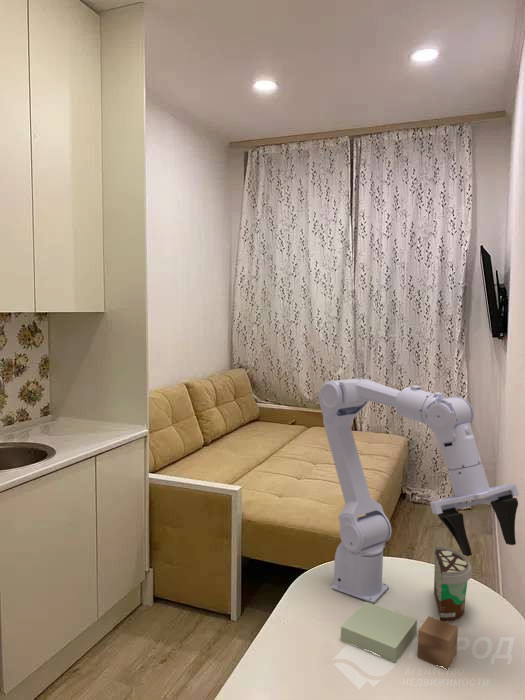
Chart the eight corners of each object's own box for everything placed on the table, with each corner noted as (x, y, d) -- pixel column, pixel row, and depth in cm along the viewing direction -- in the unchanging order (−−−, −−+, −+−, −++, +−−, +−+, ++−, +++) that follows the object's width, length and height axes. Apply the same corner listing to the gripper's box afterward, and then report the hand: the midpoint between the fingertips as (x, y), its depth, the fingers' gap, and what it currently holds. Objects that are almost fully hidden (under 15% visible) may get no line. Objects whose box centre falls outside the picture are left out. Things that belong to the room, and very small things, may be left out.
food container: (475, 629, 97) (478, 577, 96) (440, 625, 98) (442, 573, 97) (464, 594, 109) (466, 547, 108) (433, 590, 110) (434, 544, 109)
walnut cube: (417, 658, 89) (418, 629, 88) (427, 643, 93) (428, 616, 92) (447, 670, 86) (448, 641, 86) (456, 654, 90) (457, 626, 90)
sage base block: (340, 642, 93) (341, 626, 93) (365, 616, 101) (365, 601, 101) (395, 665, 87) (395, 648, 87) (416, 635, 96) (416, 619, 95)
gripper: (432, 475, 86) (457, 563, 83) (516, 456, 87) (543, 542, 84) (418, 476, 93) (440, 557, 89) (496, 458, 94) (521, 537, 91)
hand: (489, 549), depth 87 cm, fingers open, 7 cm apart
